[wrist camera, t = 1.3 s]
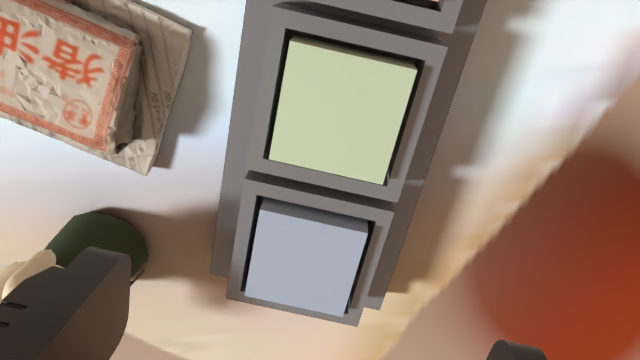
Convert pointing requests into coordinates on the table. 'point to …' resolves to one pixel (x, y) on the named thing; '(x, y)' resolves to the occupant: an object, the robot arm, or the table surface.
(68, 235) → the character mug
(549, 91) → the table surface
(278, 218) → the slate button
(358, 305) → the button panel
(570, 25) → the table surface
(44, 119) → the packaged product
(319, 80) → the sage button
